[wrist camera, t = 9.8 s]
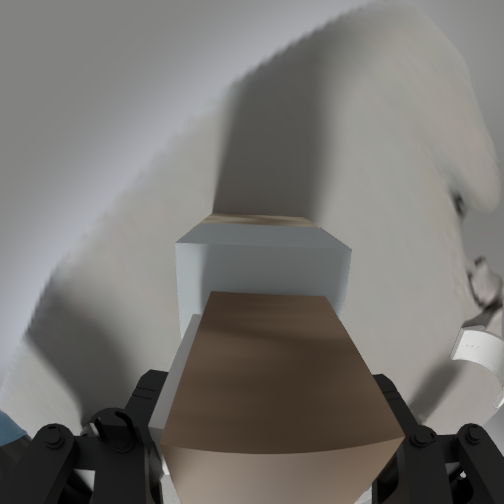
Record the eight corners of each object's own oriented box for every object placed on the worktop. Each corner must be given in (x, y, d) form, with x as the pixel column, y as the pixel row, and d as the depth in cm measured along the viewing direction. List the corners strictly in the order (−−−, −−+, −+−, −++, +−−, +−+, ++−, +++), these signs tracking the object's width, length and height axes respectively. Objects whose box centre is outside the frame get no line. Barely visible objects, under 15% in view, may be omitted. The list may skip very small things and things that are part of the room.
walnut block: (212, 379, 13) (188, 518, 5) (211, 291, 12) (159, 444, 4) (308, 382, 13) (341, 515, 5) (325, 296, 12) (405, 436, 4)
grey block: (202, 330, 20) (186, 382, 14) (199, 223, 18) (175, 243, 12) (308, 333, 20) (326, 385, 14) (321, 227, 18) (351, 249, 12)
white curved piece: (461, 327, 27) (515, 376, 15) (485, 324, 27) (536, 365, 15) (449, 357, 28) (496, 408, 16) (474, 351, 28) (519, 395, 17)
